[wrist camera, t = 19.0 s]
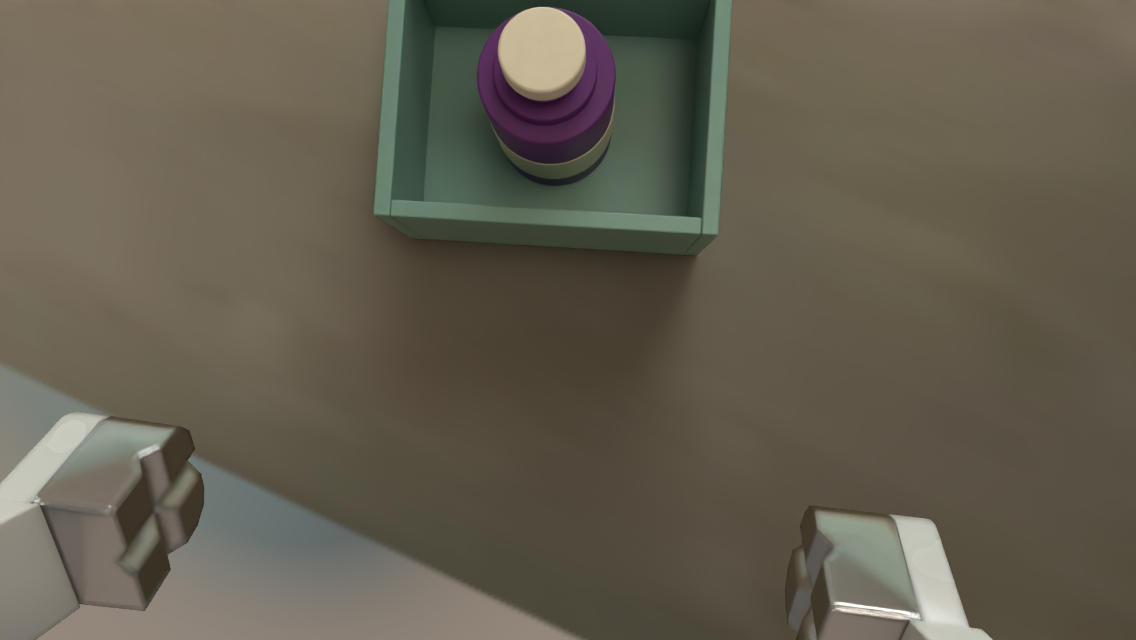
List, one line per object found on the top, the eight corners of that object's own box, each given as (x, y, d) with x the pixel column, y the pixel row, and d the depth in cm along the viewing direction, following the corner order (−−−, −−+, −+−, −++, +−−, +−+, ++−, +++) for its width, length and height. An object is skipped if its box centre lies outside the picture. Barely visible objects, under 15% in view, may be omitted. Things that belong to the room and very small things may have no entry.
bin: (710, 32, 30) (734, -33, 25) (697, 255, 30) (718, 235, 25) (425, 17, 30) (391, -50, 25) (409, 238, 30) (372, 215, 25)
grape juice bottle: (615, 78, 29) (623, -24, 21) (608, 190, 29) (613, 130, 21) (503, 71, 30) (469, -32, 22) (495, 183, 29) (459, 121, 21)
